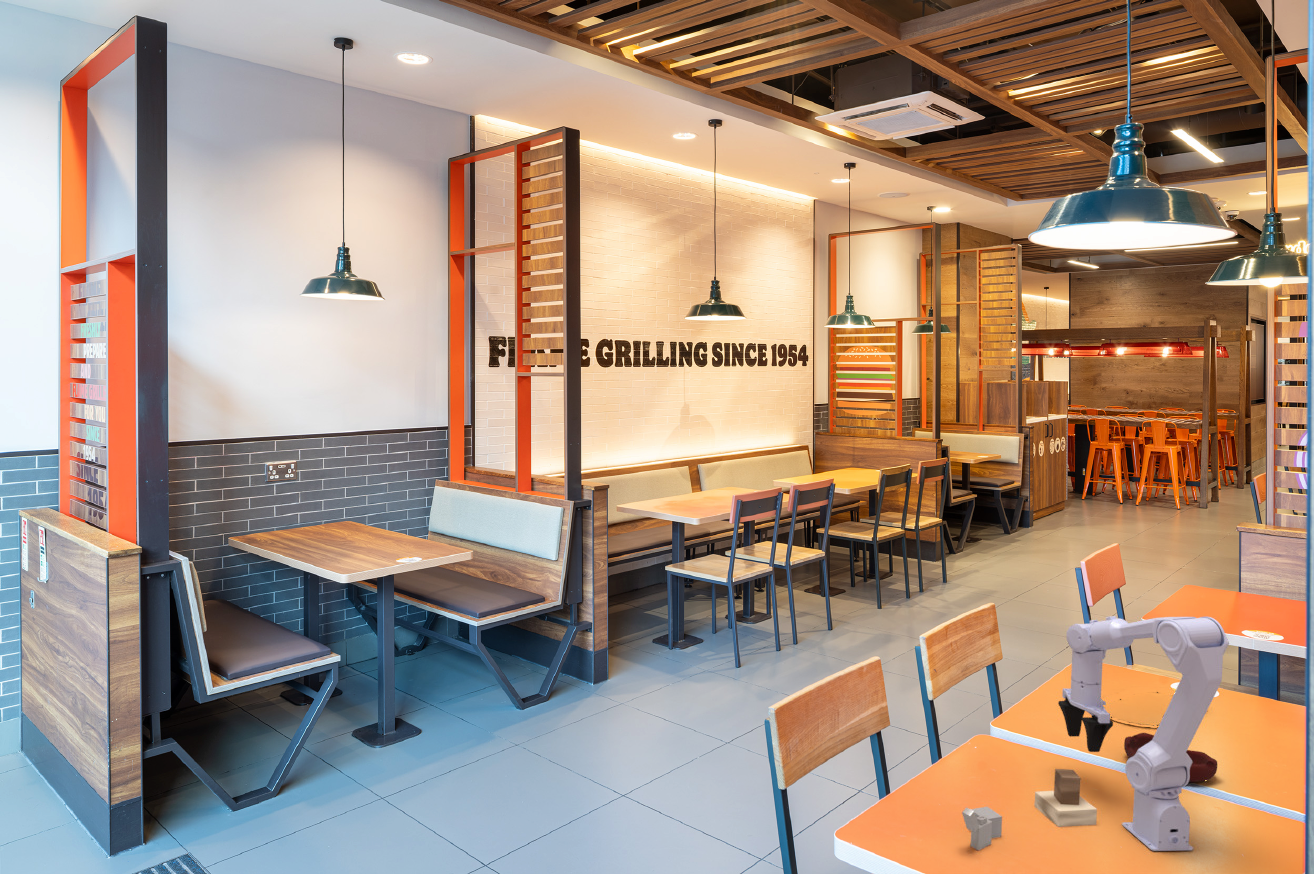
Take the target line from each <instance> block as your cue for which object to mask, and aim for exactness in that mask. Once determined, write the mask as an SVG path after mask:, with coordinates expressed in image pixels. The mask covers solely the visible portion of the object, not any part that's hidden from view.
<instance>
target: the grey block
mask: <svg viewBox="0 0 1314 874" xmlns="http://www.w3.org/2000/svg"><path fill="white" fill-rule="evenodd" d="M970 809H971V810H973V811H974V812H975V816H976V819H977V817H979V816H986V817H987V819H988V820H990V821H992V834H991V840H992V839H996V838H1002V827H1003V826H1002V825H1003V816H1002V815H1000V814H999V813H998V812H996V811H994V810H993V808H991V807H989V806H984V807H977V808H970Z"/></svg>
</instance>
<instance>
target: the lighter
mask: <svg viewBox="0 0 1314 874" xmlns="http://www.w3.org/2000/svg"><path fill="white" fill-rule="evenodd" d="M971 809H972V808H969V807H967V806H966V807H965V808H964V810H963V811H962V812H961V814H962V817H963V820H964V824H965V827H966V828H967V830H969V831H970V847H971V848H973V849H974V850H976V851H980V850H982V849H984V848H986V847H988V846H990V845H992V839H991V834H992V821H990V820H988V819H987V817H986V816H979V817H977V819H976V816H975V812H974V811H973V810H971Z"/></svg>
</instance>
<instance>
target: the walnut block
mask: <svg viewBox="0 0 1314 874" xmlns="http://www.w3.org/2000/svg"><path fill="white" fill-rule="evenodd" d="M1053 783H1054V784H1053V786H1054V788H1053V791H1054V796H1055V797H1056V799H1057V800H1058V801H1059V803H1060V804H1068V805H1079V797H1081V796H1080V794H1081V793H1080V792H1081V777H1080V776H1079V775H1078V773H1077V772H1076V771H1075V770H1074V769H1064V768H1063V769H1061V768H1055V769H1054V782H1053Z"/></svg>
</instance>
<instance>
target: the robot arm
mask: <svg viewBox="0 0 1314 874" xmlns="http://www.w3.org/2000/svg"><path fill="white" fill-rule="evenodd" d="M1065 636H1066V641H1067V644H1068V646H1069V647H1070V649H1071V651H1072V654H1071V675H1070V679H1071V681H1070V688H1062V692H1061V693H1062V696H1061V698H1063V700H1059V701H1058V703H1057V704H1058V706H1059V708H1060V710H1061V713H1062V715H1063V718H1064V721H1065V726H1066V731H1067V734H1068V736H1069V737H1080V735H1081V732H1082V730H1081V729H1082V723H1083V725H1084V726H1083V727H1084V729H1085V734H1086V746H1087V750H1088V752H1089V753H1100V751H1101V749H1102V745H1103V743H1104V740H1105V737H1106V736H1107V734H1108V732H1109V731H1110V729H1111V728H1112V727H1113V726H1114V721H1113V720H1111V719H1110V716H1111V713H1110V712H1108V711H1107V710H1106V708H1105V706H1107V705H1106V702H1105V701H1103V700H1102V686H1103V685H1102V683H1103V682H1102V679H1103V678H1102V677H1103V661H1104V660H1105V658H1106V652H1107V651H1108V650H1116V649H1125V648H1128V647H1130V646H1131V645H1132V644H1133V643H1134V640H1141V639H1148V638H1149V639H1151V638H1153V641H1154V643H1155V644H1158V645H1160V647H1161V649H1162V651H1163V652H1164V653H1165V655H1166V658H1168V660H1169V661H1170V663H1171V664H1172V666H1173V667H1174V669H1175V670H1176V671H1177V672H1178V673H1181V676H1182V677H1181V678H1180V680H1179V683H1178V685H1177V687H1176V689H1175V693H1174V695H1173V696H1172V697H1171V700H1170V702H1169V703H1168V706H1167V708H1166V711H1165V712H1164V714H1163V717H1162V718H1161V721H1160V723H1159V724H1158V725H1159V727H1158V728H1156V731H1155V733H1154V734H1153V735H1154V737H1153V739H1152V741H1150V742H1149V743H1147V744H1146V745H1144V746H1142V747H1141V748H1139V749H1138V750H1137V753H1136V754H1135V755H1134V756H1133V757H1131V758H1129V759H1127V761H1126V762H1125V767H1124V768H1125V769H1124V770H1125V775H1126V778H1127V780H1128V782H1129V784H1130V785H1131V788H1132V789H1134V791H1133V792H1134V793H1133V808H1132V810H1133V811H1132V814H1133V815H1132V821H1131V822H1130V821H1129V822H1122V823H1121V824H1122V826H1123V827H1124V828H1125V829H1127V831H1128V832H1129V833H1131V834H1132V835H1133V836H1134V837H1135V838H1136V839H1138V840H1139V841H1141V842H1140V843H1142V844H1144V845H1145V846H1146V847H1147V848H1149V849H1150V850H1151V851H1153V852H1162V851H1163V852H1167V851H1169V852H1171V851H1174V852H1175V851H1193V850H1194V847H1193V846H1192V845H1190V844H1189V843H1190V842H1189V841H1190V827H1191V826H1190V825H1191V822H1190V821H1191V819H1190V814H1189V812H1188V810H1187V809H1186V808H1185V807H1184V806H1183V805H1182V803H1181V801H1180V794H1182V792H1183V791H1182V789H1183V787H1186V786H1187V785H1188V784H1189V779H1190V767H1191V764H1192V760H1191V758H1190V757H1189V755H1188V754H1187V753H1186V751H1187V750H1189V747H1190V746H1191V743H1192V741H1193V739H1194V737H1195V735H1196V733H1197V731H1198V729H1199V728H1200V725H1201V723H1202V721H1203V719H1204V717H1205V715H1206V713H1207V712H1208V709H1209V707H1210V705H1211V704H1212V702H1213V700H1214V698H1215V696H1216V694H1217V692H1218V690H1219V688H1220V685H1221V683H1222V679H1223V662H1224V661H1223V660H1224V658H1223V657H1224V655H1225V653H1226V651H1227V649H1228V647H1229V645H1230V641H1229V640H1228V637H1227V635H1226V633H1225V630H1224V628H1223V626H1222V625H1221V624H1220V622H1219V621H1218V620H1216V619H1215V618H1214V617H1211V616H1200V617H1196V616H1164V617H1154V618H1148V619H1144V620H1139V621H1133V622H1130V623H1129V622H1128V621H1127V620H1125V619H1124V618H1117V616H1115V615H1114V616H1113V615H1112V616H1106V617H1105V620H1099V621H1098V619H1092V620H1091V619H1090V620H1089V623H1074V624H1072V625H1069V626H1068V628H1067V631H1066V635H1065ZM1103 705H1105V706H1103ZM1085 713H1088V714H1089V715H1091V717H1086V716H1085V717H1084V715H1085Z"/></svg>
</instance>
